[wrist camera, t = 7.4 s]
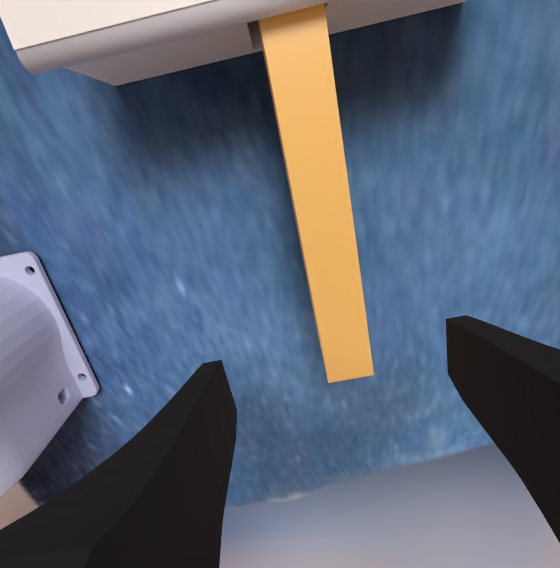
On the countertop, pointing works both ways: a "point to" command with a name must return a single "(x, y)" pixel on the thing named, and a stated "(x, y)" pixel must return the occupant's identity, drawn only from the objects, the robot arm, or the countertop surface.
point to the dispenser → (165, 31)
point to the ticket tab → (318, 184)
